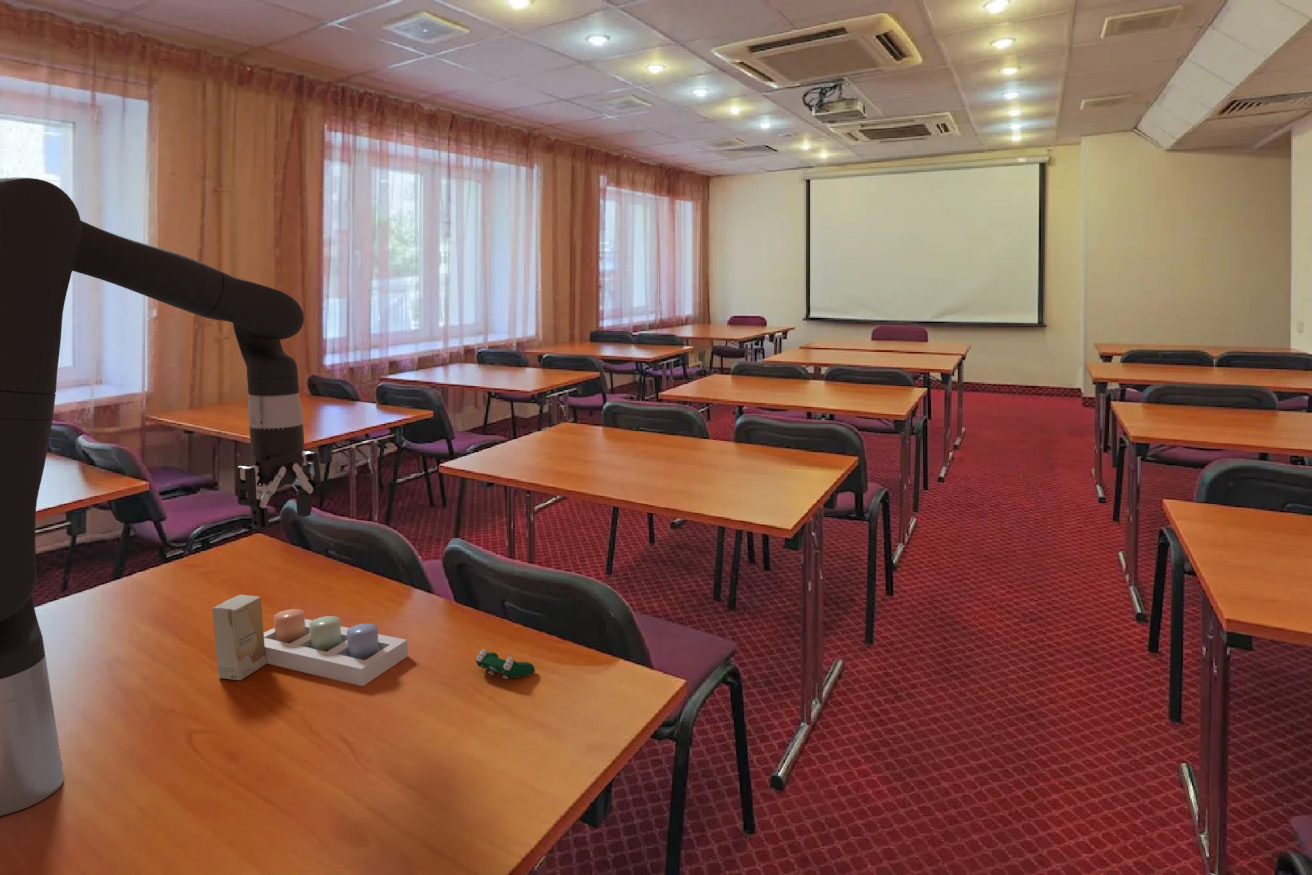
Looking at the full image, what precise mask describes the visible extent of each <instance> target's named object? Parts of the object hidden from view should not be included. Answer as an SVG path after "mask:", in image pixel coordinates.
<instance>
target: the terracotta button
mask: <svg viewBox="0 0 1312 875" xmlns="http://www.w3.org/2000/svg"><path fill="white" fill-rule="evenodd" d="M305 617H306V616H305V611H304V610H303V609H300V608H299V609H298V608H290V609H285V610H281V611H279V612H277V613H275V614H274V615H273V625H274V627H273V628H275V638H276V640H277V641H281V642H286V643H292V642H294V641H296V640H298V639H300V638H301V637H303V636H305V635H306V629H305V619H306V618H305Z"/></svg>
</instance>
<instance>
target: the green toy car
mask: <svg viewBox="0 0 1312 875" xmlns="http://www.w3.org/2000/svg"><path fill="white" fill-rule="evenodd" d="M476 656H477V657H476V658H475V662H476V664H477V666H478V667H481V669H487V670H488V674H489V675H493V676H494V675H495V674H497V673H500V674H501V676H502V679H505V680H508V679H510V678H513V677H515V678H521V677H527V676H529V675H531V674H533V673H535V672H536V669H535V666H534V664H532V663H531V662H526V661H515V660H514V659H513V657H512V656H507V659H503V658H499V655H498V654H497V653H496V652H493V651H487V650H486V648H482V649H481V650H480V652H479V653H478V654H477V655H476Z"/></svg>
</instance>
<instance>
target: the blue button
mask: <svg viewBox="0 0 1312 875" xmlns="http://www.w3.org/2000/svg"><path fill="white" fill-rule="evenodd" d="M348 628H349V629H348V630H347V642H348V655H349V656H350V657H353V658H357V659H362V660H363V659H368V658H370V657H371V656H373V655H374V654H376V653H378V651H379V644H378V634H379V633H378V632H379V630H378V626H377V625H376V624H374V623H360V624H357V625H356V624H355V625H353V626H351V627H348Z"/></svg>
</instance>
